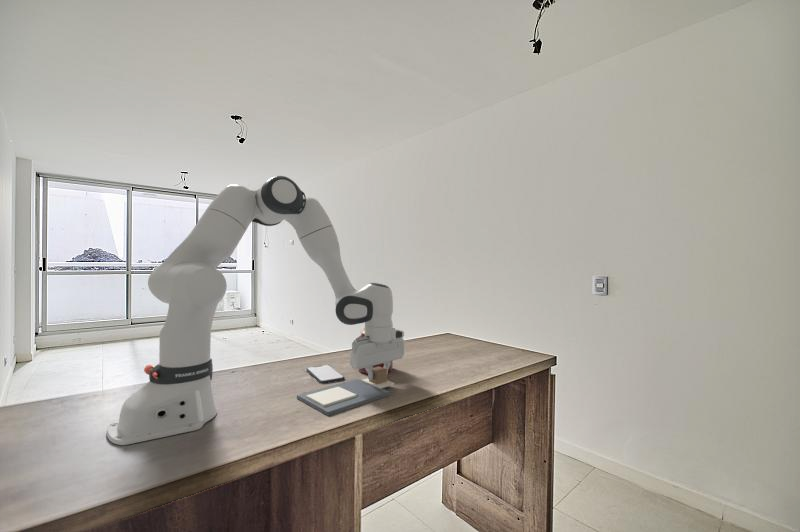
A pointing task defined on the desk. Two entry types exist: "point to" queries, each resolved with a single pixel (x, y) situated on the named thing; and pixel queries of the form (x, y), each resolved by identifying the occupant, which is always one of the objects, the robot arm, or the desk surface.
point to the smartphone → (325, 374)
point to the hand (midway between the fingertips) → (377, 377)
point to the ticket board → (342, 396)
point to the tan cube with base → (379, 378)
